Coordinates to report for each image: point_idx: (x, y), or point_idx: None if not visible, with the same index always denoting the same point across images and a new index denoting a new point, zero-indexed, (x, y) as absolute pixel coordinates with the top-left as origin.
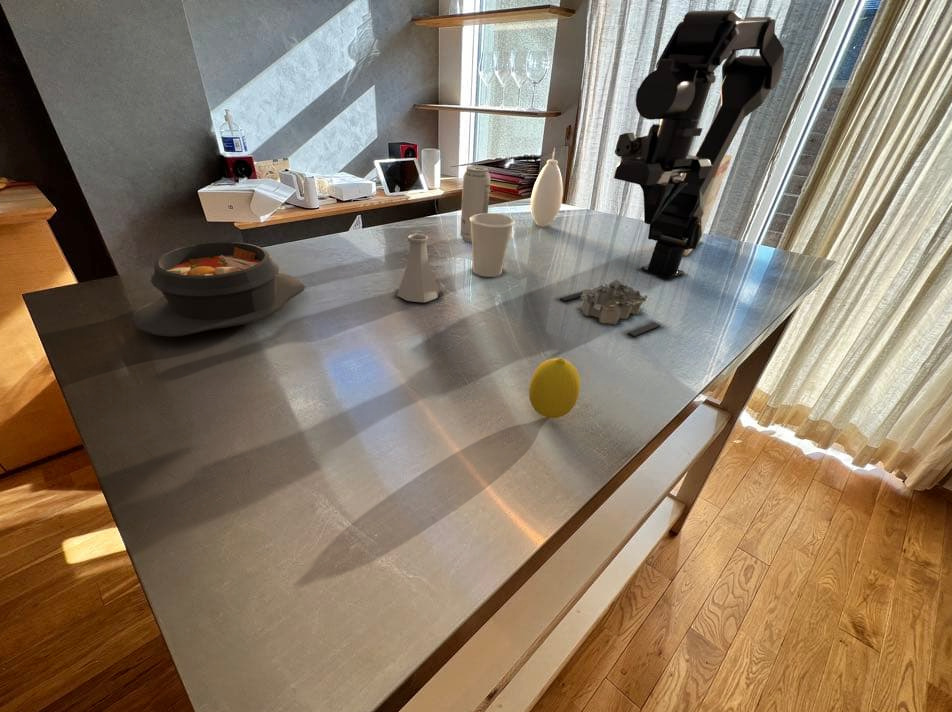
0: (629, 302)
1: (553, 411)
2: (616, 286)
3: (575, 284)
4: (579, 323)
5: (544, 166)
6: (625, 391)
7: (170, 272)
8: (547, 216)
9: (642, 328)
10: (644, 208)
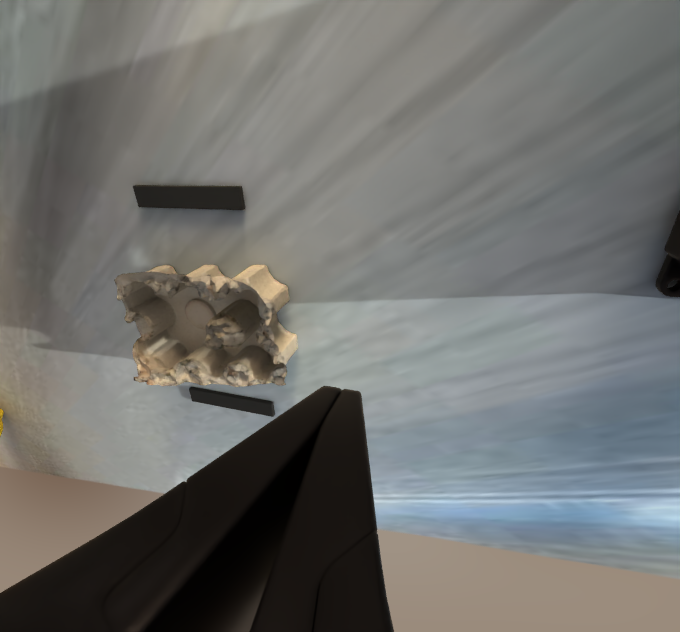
0: (199, 380)
1: None
2: (258, 293)
3: (252, 107)
4: None
5: None
6: (98, 443)
7: None
8: None
9: (227, 399)
10: (235, 450)
